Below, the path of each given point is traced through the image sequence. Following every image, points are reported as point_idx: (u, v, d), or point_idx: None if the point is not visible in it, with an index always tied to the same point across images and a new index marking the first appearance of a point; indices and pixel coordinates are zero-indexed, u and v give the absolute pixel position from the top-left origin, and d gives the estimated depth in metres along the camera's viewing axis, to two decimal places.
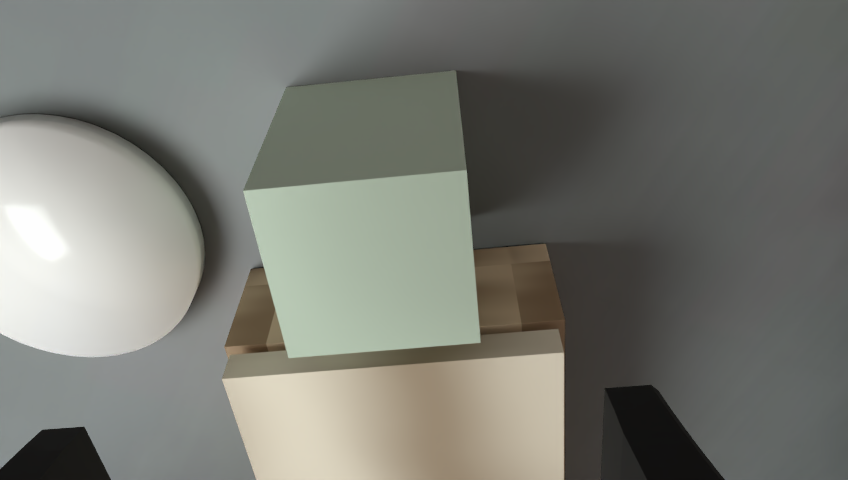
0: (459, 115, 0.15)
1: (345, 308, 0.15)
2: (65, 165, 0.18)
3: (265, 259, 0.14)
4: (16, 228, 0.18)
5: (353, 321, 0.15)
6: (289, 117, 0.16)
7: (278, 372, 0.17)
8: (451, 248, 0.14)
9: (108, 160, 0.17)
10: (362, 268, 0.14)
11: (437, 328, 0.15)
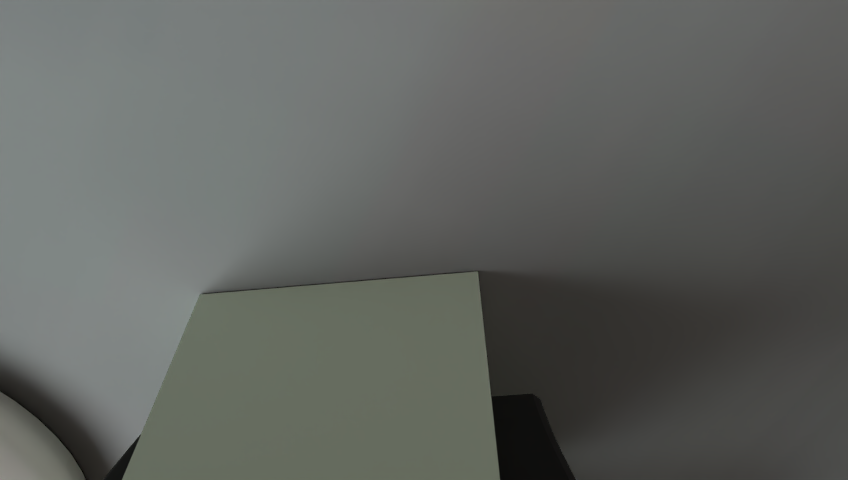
0: (490, 407, 0.08)
1: None
2: None
3: None
4: None
5: None
6: (189, 384, 0.09)
7: None
8: None
9: None
10: None
11: None
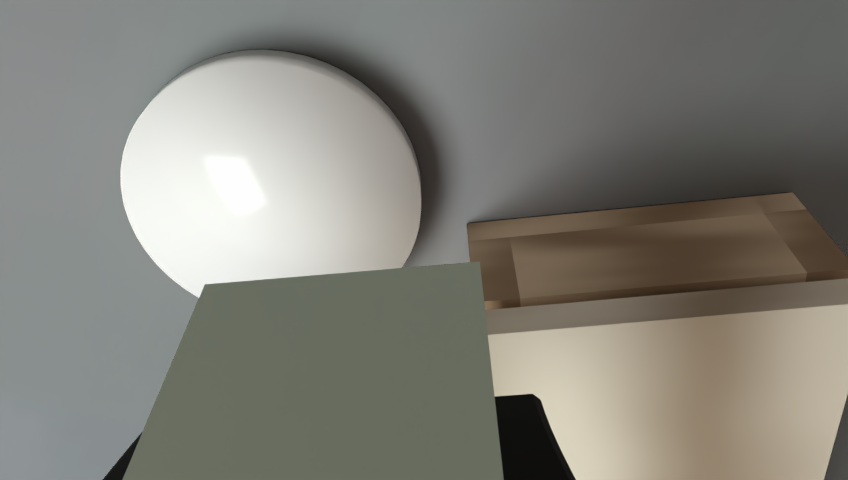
0: (492, 393, 0.08)
1: None
2: (297, 105, 0.16)
3: None
4: (231, 177, 0.17)
5: None
6: (195, 371, 0.09)
7: (547, 327, 0.15)
8: None
9: (345, 98, 0.16)
10: None
11: None
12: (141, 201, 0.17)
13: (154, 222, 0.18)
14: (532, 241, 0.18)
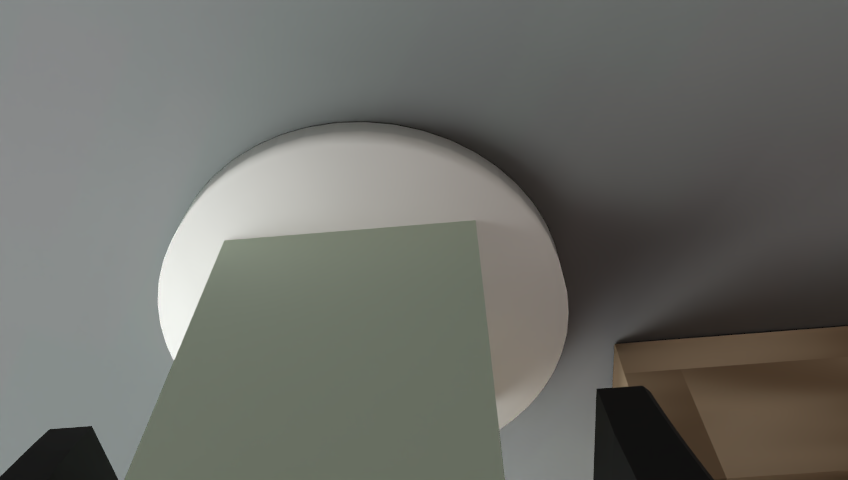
0: (485, 327, 0.09)
1: None
2: (412, 202, 0.11)
3: None
4: None
5: None
6: (219, 311, 0.10)
7: None
8: None
9: (481, 194, 0.11)
10: None
11: None
12: (185, 322, 0.13)
13: None
14: (715, 378, 0.13)
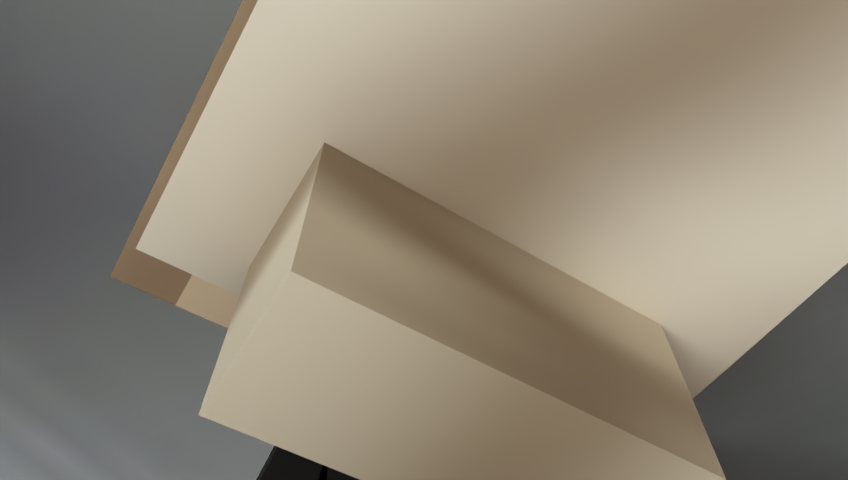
0: None
1: None
2: None
3: None
4: None
5: None
6: None
7: None
8: None
9: None
10: None
11: None
12: None
13: None
14: None
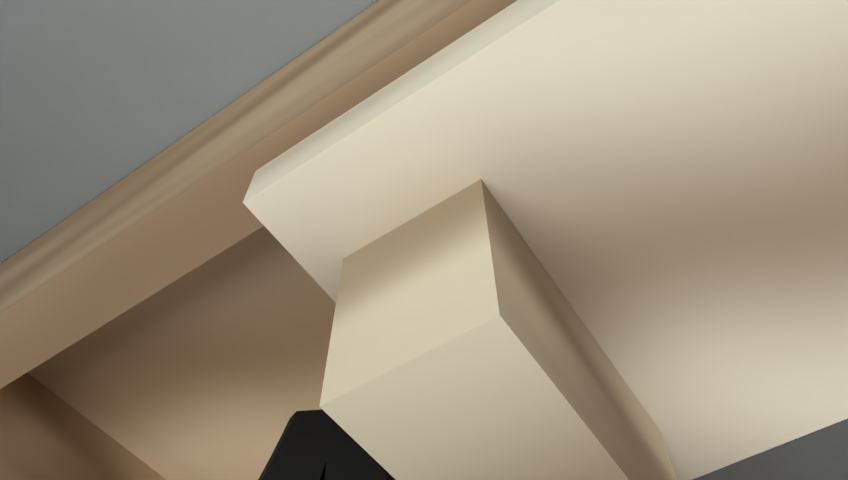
0: None
1: None
2: None
3: None
4: None
5: None
6: None
7: None
8: None
9: None
10: None
11: None
12: None
13: None
14: None
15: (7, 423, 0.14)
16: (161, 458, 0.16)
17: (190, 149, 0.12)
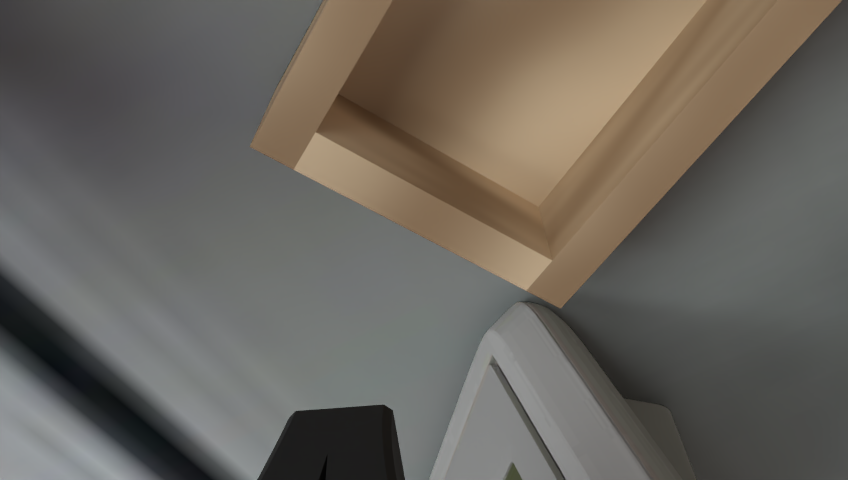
0: None
1: None
2: None
3: None
4: None
5: None
6: None
7: None
8: None
9: None
10: None
11: None
12: None
13: None
14: None
15: (367, 133, 0.16)
16: (491, 162, 0.18)
17: None
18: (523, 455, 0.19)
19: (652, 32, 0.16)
